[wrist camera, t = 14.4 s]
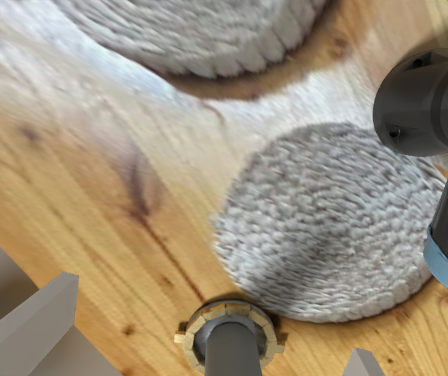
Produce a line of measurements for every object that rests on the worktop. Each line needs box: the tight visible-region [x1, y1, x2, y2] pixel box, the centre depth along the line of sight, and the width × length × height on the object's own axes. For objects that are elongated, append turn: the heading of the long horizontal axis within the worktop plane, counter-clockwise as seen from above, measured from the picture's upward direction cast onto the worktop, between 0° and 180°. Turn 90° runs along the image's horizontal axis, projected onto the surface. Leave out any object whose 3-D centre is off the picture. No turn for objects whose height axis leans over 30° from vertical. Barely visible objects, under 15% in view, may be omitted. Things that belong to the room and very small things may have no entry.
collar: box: [174, 299, 285, 375], centre depth 48 cm, size 22×18×2 cm
